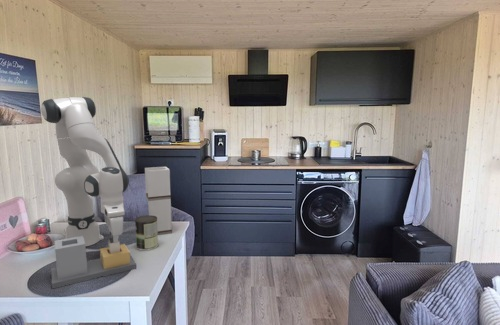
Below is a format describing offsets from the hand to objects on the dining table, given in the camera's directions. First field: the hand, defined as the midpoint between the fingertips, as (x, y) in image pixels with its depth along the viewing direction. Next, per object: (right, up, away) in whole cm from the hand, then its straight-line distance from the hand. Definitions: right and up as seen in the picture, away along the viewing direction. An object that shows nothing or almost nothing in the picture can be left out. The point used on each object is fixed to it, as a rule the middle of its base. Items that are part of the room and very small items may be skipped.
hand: (113, 238), depth 135 cm
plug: (0, -10, +1) cm, 10 cm away
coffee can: (+7, -9, +22) cm, 25 cm away
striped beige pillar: (+8, -6, +42) cm, 43 cm away
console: (-6, -13, -3) cm, 14 cm away
